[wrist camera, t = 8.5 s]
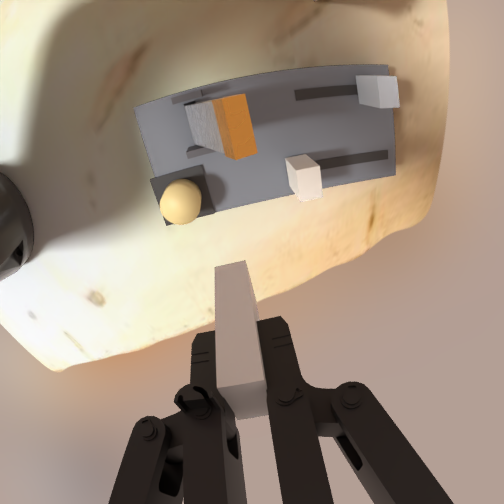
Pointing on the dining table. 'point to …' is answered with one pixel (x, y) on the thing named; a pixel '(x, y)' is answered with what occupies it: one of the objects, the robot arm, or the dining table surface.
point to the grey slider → (378, 91)
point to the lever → (222, 126)
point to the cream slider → (304, 177)
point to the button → (181, 202)
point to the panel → (273, 135)
